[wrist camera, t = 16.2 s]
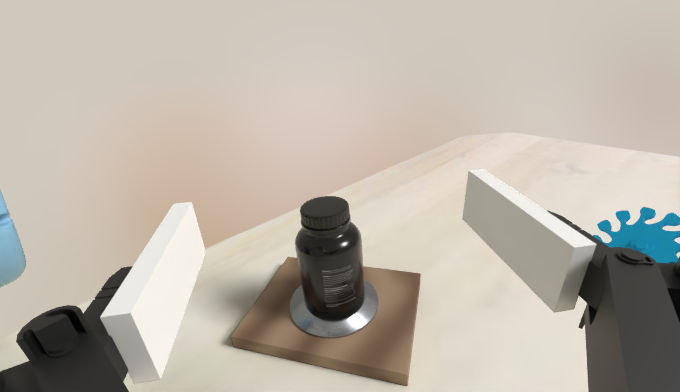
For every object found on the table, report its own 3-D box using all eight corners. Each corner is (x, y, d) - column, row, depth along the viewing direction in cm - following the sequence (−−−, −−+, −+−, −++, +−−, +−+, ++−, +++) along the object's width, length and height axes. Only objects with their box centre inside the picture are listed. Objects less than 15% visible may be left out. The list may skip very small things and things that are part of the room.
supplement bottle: (371, 284, 39) (367, 193, 34) (356, 329, 33) (349, 227, 28) (317, 276, 41) (306, 189, 36) (294, 317, 35) (277, 220, 30)
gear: (568, 248, 43) (629, 190, 41) (580, 262, 47) (636, 210, 45) (665, 314, 34) (748, 245, 33) (670, 326, 38) (745, 264, 36)
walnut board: (233, 346, 35) (229, 334, 34) (289, 265, 47) (287, 255, 46) (407, 386, 29) (407, 372, 29) (420, 283, 41) (420, 271, 41)
